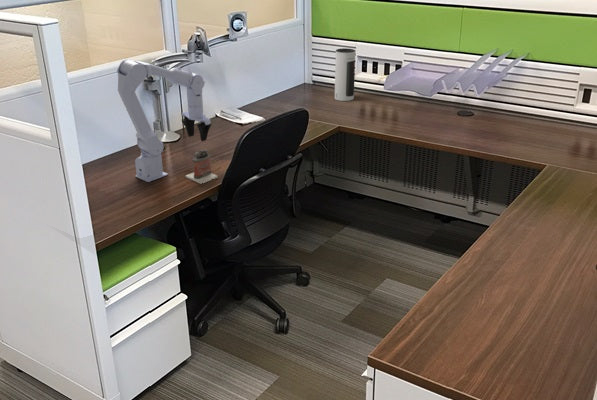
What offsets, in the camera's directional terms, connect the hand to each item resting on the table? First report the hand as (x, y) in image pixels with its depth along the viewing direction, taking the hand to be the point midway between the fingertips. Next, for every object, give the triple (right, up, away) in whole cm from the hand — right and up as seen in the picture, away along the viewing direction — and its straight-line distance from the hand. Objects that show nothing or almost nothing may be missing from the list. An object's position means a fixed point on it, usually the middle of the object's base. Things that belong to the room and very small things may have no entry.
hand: (197, 138), depth 245 cm
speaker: (+64, +30, +88) cm, 112 cm away
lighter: (+3, -15, -9) cm, 18 cm away
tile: (+3, -16, -9) cm, 18 cm away
